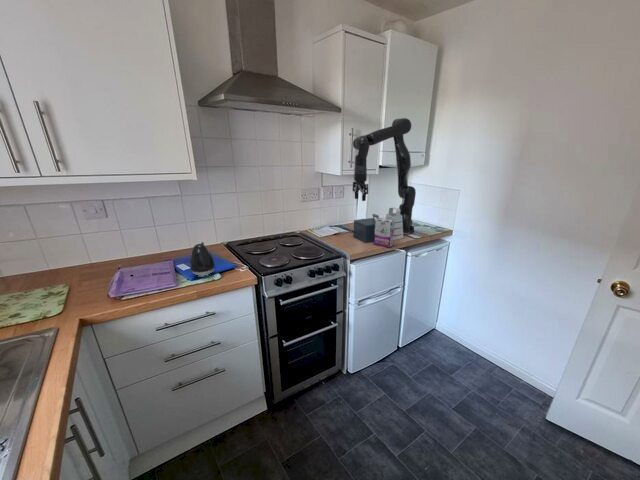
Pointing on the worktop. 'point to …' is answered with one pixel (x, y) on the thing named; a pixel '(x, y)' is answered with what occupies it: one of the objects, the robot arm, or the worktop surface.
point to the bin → (364, 232)
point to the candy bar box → (384, 232)
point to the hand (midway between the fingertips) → (360, 199)
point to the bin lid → (367, 221)
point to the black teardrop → (201, 261)
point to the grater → (396, 222)
